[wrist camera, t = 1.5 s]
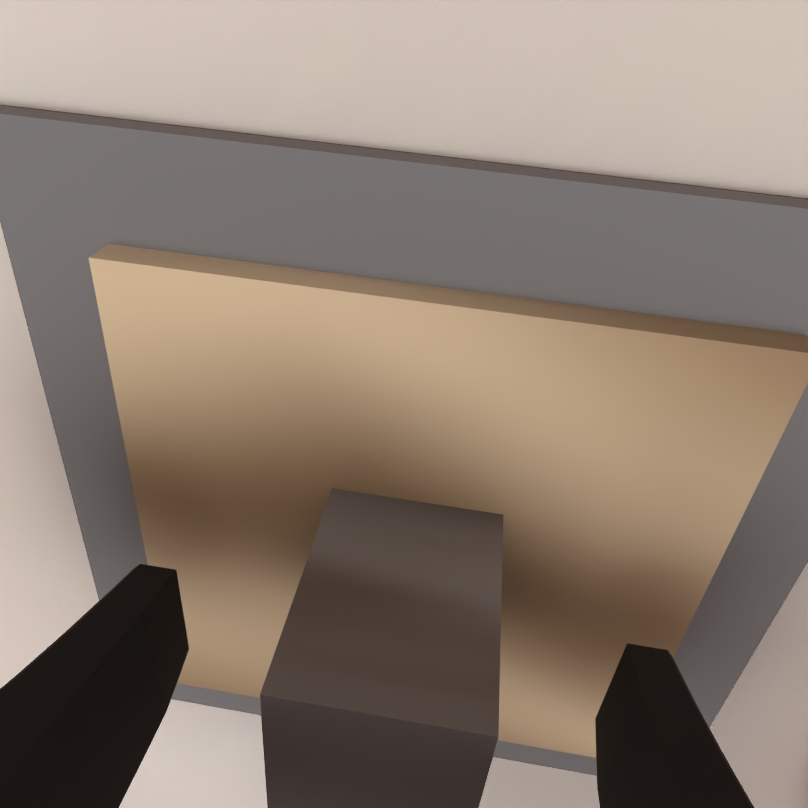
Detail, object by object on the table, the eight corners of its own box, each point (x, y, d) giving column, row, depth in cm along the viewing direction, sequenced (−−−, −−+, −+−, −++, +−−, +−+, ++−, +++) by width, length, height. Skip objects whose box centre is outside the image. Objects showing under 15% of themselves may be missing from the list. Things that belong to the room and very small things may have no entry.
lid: (618, 736, 15) (652, 989, 12) (181, 659, 16) (77, 873, 12) (805, 335, 10) (993, 575, 6) (108, 243, 10) (-127, 405, 7)
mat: (668, 768, 17) (672, 789, 16) (132, 673, 18) (122, 690, 17) (981, 219, 9) (1003, 232, 9) (-7, 103, 10) (-29, 110, 10)
